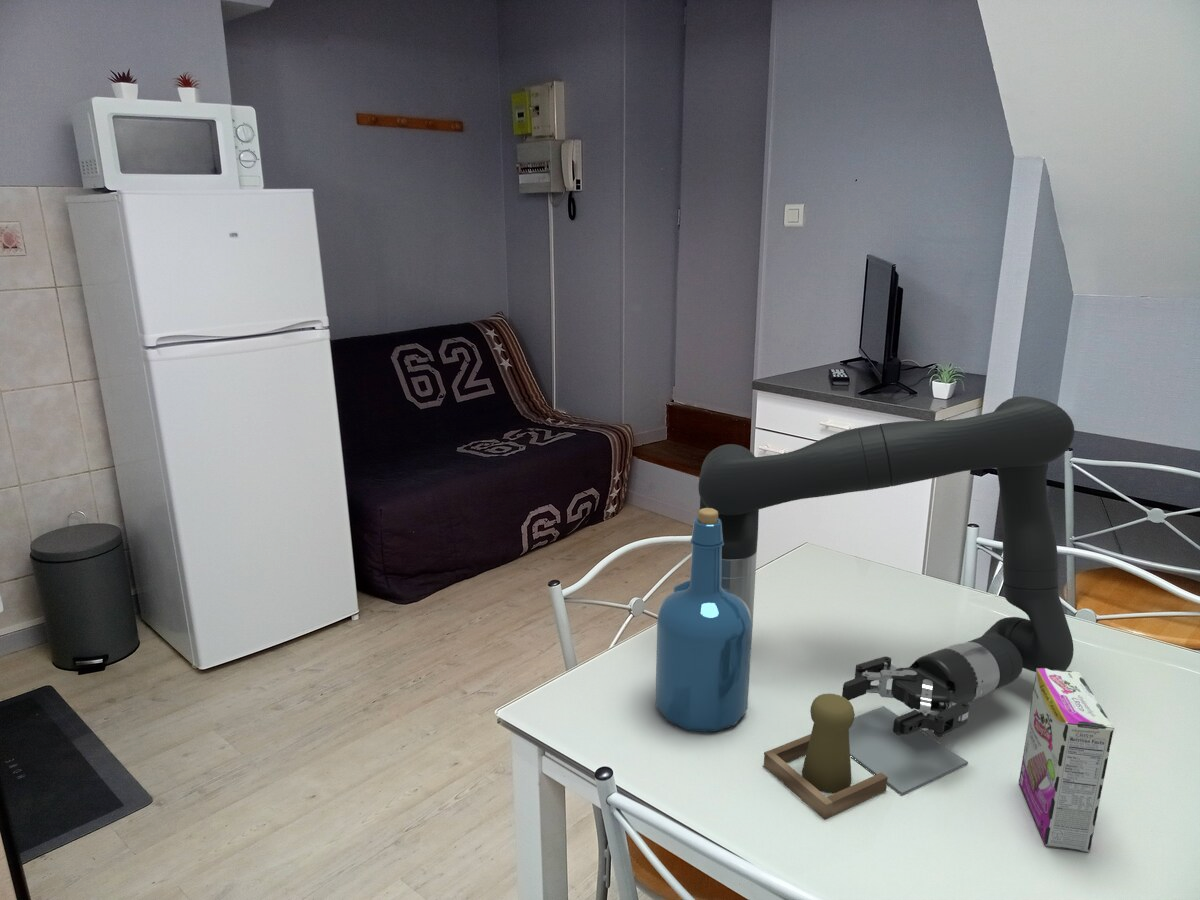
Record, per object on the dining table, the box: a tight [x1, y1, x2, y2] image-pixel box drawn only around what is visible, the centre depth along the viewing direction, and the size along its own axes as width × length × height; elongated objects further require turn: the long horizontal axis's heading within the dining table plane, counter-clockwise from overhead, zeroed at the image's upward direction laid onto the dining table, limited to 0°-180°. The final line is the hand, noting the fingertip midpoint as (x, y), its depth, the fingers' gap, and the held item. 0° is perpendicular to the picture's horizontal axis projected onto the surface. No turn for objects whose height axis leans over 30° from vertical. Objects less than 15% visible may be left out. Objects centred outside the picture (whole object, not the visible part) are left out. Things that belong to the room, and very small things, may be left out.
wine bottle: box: [655, 508, 753, 733], centre depth 113 cm, size 14×13×30 cm
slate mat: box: [849, 705, 969, 796], centre depth 109 cm, size 14×12×1 cm
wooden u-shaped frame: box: [763, 733, 888, 820], centre depth 103 cm, size 11×10×2 cm
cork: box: [801, 693, 856, 794], centre depth 102 cm, size 6×6×11 cm
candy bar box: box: [1018, 668, 1115, 853], centre depth 94 cm, size 11×5×16 cm, turn 168°
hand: (869, 709), depth 104 cm, fingers open, 8 cm apart
